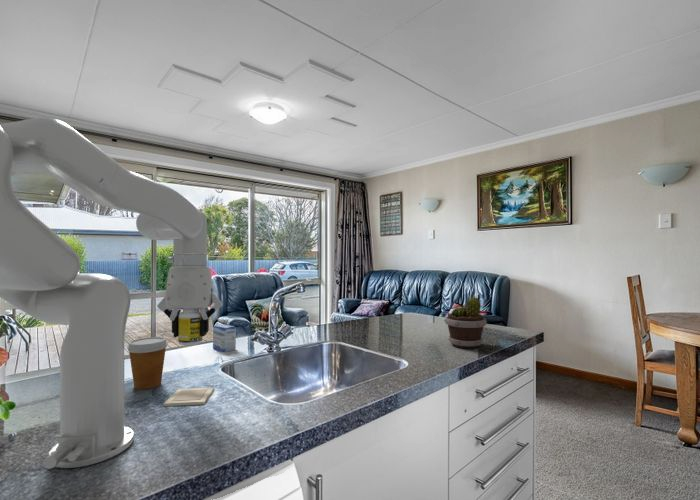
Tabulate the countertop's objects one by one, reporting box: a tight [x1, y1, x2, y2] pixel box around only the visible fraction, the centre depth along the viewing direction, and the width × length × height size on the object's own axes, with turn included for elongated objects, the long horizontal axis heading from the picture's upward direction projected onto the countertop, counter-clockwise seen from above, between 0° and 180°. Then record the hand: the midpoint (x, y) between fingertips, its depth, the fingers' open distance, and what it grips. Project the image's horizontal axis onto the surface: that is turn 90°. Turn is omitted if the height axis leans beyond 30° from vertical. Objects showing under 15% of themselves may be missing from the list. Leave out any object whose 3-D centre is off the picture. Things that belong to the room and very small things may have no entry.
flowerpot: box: [443, 293, 488, 349], centre depth 136 cm, size 14×15×20 cm
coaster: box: [163, 387, 215, 407], centre depth 88 cm, size 9×9×1 cm
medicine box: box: [212, 323, 237, 353], centre depth 133 cm, size 8×4×9 cm, turn 55°
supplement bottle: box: [177, 309, 203, 346], centre depth 88 cm, size 5×5×10 cm
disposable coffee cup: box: [126, 336, 168, 391], centre depth 97 cm, size 10×10×12 cm
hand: (190, 334), depth 88 cm, fingers closed on supplement bottle, 5 cm apart
